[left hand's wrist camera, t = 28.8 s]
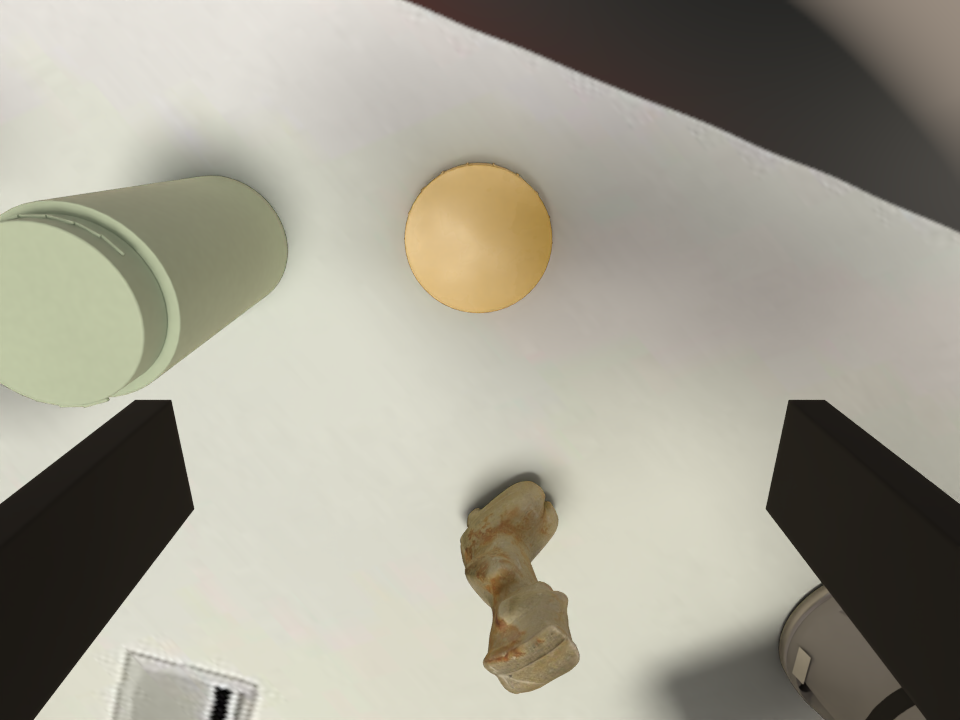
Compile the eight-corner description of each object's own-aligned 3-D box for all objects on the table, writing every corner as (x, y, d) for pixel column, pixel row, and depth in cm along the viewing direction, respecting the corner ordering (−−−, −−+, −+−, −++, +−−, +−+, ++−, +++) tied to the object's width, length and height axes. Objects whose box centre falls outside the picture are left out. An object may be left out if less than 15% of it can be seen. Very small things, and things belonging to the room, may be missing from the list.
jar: (132, 196, 37) (-119, 241, 22) (256, 158, 37) (89, 177, 21) (190, 320, 40) (7, 438, 25) (307, 288, 40) (193, 389, 24)
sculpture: (565, 517, 46) (603, 684, 32) (487, 555, 47) (489, 731, 33) (530, 462, 44) (553, 613, 30) (449, 503, 46) (436, 666, 32)
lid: (577, 247, 39) (582, 253, 37) (467, 330, 41) (466, 341, 39) (491, 129, 36) (492, 129, 34) (378, 225, 38) (372, 230, 36)
